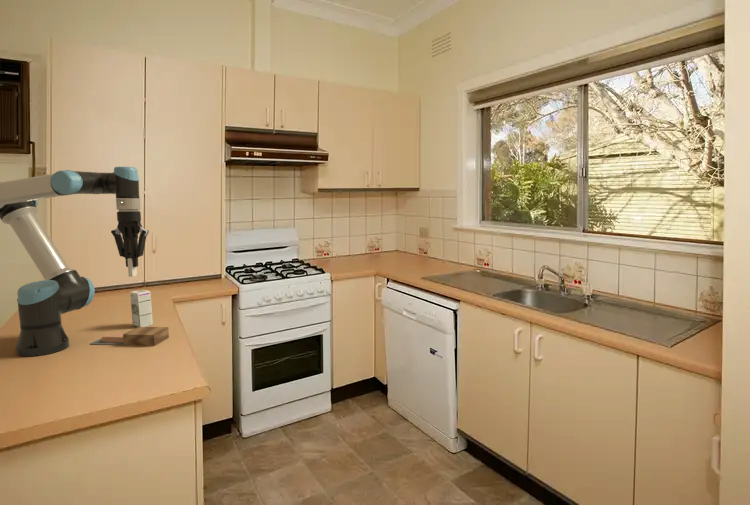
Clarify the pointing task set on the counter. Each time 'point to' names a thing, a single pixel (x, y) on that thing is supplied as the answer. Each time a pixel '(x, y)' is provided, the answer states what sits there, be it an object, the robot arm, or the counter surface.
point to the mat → (105, 343)
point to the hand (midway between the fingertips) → (132, 275)
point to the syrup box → (141, 308)
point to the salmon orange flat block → (114, 337)
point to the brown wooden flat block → (146, 336)
